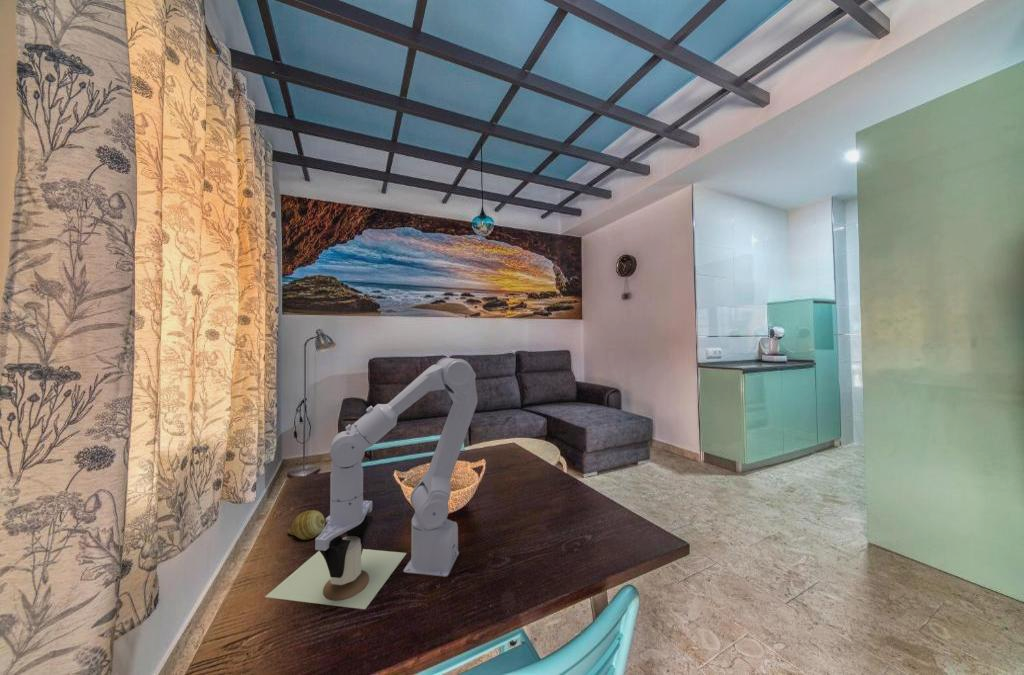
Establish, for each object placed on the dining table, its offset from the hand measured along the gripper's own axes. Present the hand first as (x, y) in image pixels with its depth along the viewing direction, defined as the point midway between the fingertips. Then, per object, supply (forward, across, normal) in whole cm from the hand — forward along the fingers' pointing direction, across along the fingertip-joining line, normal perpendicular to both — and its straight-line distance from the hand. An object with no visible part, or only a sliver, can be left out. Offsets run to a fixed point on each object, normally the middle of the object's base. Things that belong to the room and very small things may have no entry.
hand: (346, 565), depth 65 cm
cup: (+2, 0, 0) cm, 2 cm away
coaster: (+4, 0, 0) cm, 4 cm away
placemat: (+4, -3, -3) cm, 6 cm away
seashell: (+4, -15, -21) cm, 26 cm away
